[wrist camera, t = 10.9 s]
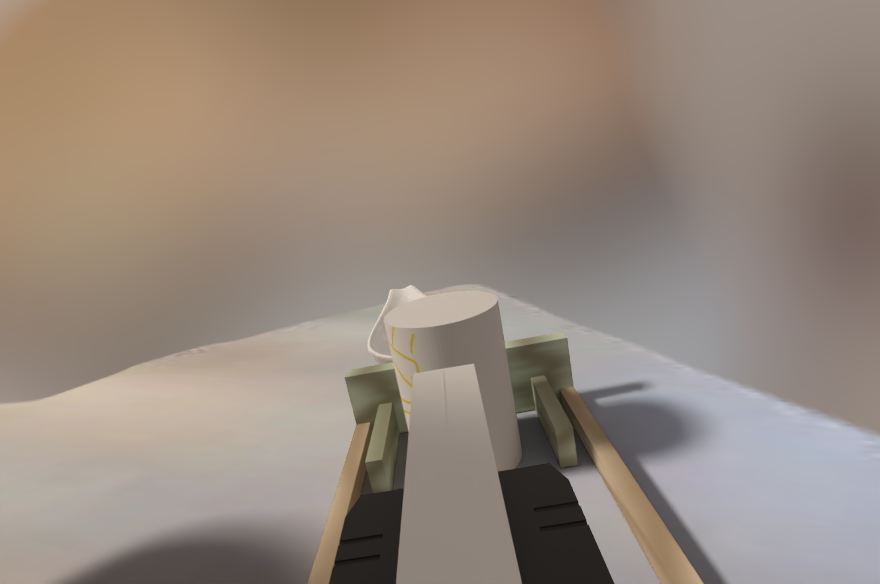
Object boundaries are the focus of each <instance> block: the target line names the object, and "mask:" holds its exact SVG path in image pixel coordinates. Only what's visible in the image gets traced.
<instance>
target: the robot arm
mask: <svg viewBox="0 0 880 584" xmlns="http://www.w3.org/2000/svg"><path fill="white" fill-rule="evenodd" d="M339 541H340V545H339V546H338V548H337V553H336V557H335V561H334V562H335V566H334V567H333V569H332V573H331V577H330V581H329V584H614V582H613V580H612V577H611V575H610V573H609V570H608V568H607V566H606V564H605V561H604V559H603V557H602V555H601V552H600V550H599V548H598V545H597V543H596V541H595V539H594V536H593V534H592V532H591V530H590V527H589V525H587V522H586V518H585V516H584V514H583V511H582V509H581V507H580V506H579V504H578V500H577V498H576V496H575V493H574V491H573V489H572V486H571V484H570V482H569V480H568V479H567V478H566V477H565V476H564V475H563V474H561V473H560V472H559V471H558V470H557V469H555V468H554V467H553V466H552V465H551V464H549V463H548V464H542V465H536V466H529V467H523V468H517V469H511V470H504V471H498V472H497V467H496V463H495V458H494V453H493V449H492V444H491V440H490V435H489V431H488V426H487V421H486V417H485V412H484V408H483V403H482V398H481V394H480V389H479V385H478V380H477V376H476V371H475V366H474V364H468V365H462V366H456V367H450V368H444V369H438V370H432V371H426V372H420V373H414V376H413V387H412V399H411V411H410V423H409V435H408V447H407V459H406V470H405V482H404V489H397V490H391V491H385V492H378V493H372V494H366V495H361V496H360V497H359V499H358V500H357V502H356V503H355V504H354V506H353V507H352V508H351V510H350V511H349V512H348V514H347V515H346V517H345V520H344V524H343V528H342V532H341V536H340V540H339Z"/></svg>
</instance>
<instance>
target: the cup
mask: <svg viewBox="0 0 880 584" xmlns="http://www.w3.org/2000/svg"><path fill="white" fill-rule="evenodd" d="M384 324H385V328H386V333H387V337H388V342H389V346H390V351H391V355H392V360H393V364H394V369H395V373H396V378H397V382H398V387H399V391H400V396H401V400H402V404H403V409H404V413H405V418H406V422H407V427H408V431H409V423H410V411H411V399H412V387H413V376H414V373H420V372H426V371H432V370H438V369H444V368H450V367H456V366H462V365H468V364H474V366H475V371H476V376H477V380H478V385H479V389H480V394H481V398H482V403H483V408H484V412H485V417H486V421H487V426H488V431H489V435H490V440H491V444H492V449H493V453H494V458H495V463H496V467H497V472H498V471H504V470H511V469H516V467H517V466H518V464H519V463H520V461H521V458H522V447H521V441H520V434H519V428H518V422H517V416H516V410H515V404H514V397H513V391H512V385H511V379H510V373H509V366H508V360H507V354H506V348H505V342H504V335H503V329H502V323H501V317H500V311H499V305H498V298H497V296H496V295H494V294H492V293H489V292H485V291H455V292H447V293H441V294H436V295H431V296H427V297H423V298H419V299H416V300H413V301H410V302H407V303H405V304H402V305H400V306H398V307H396V308H394V309H392V310H391V311H390V312H388V313H387V314H386V315H385V317H384Z"/></svg>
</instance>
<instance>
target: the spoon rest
mask: <svg viewBox="0 0 880 584" xmlns="http://www.w3.org/2000/svg"><path fill="white" fill-rule="evenodd" d="M423 297H427V296H426V295H425V294H424V293H422V292H421V291H419V290H418V289H417V288H416V287H414V286H413V285H410V286H408V287H406V288H403V289H391V290H390V292H389V297H388V300H387V302H386V304H385V307H384V309H383V311H382V313H381V314H380V316H379V318H378V320H377V322H376V324H375V326H374V327H373V330H372V332H371V334H370V337H369V339H368V343H367V346H368V351H369V352H370V354H371V355H372V356H373V358H374V359H375V360H377V361H378V362H379V363H381V364H386V363H392V362H393V360H392V355H391V351H390V346H389V342H388V337H387V333H386V328H385V324H384V317H385V315H386V314H387V313H388V312H390V311H391V310H392V309H394V308H396V307H398V306H400V305H402V304H405V303H407V302H410V301H413V300H416V299H419V298H423Z"/></svg>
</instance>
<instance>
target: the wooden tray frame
mask: <svg viewBox="0 0 880 584" xmlns="http://www.w3.org/2000/svg"><path fill="white" fill-rule="evenodd" d="M505 348H506V354H507V360H508V366H509V373H510V379H511V385H512V391H513V397H514V404H515V410H516V413H518V412H523V411H529V410H536V412H537V414H538V417H539V419H540V421H541V424H542V426H543V428H544V430H545V433H546V435H547V437H548V440H549V442H550V444H551V447H552V449H553V451H554V453H555V456H556V458H557V460H558V463H559V465H560V467H561V468H563V467H569V466H575V465H578V461H577V454H576V446H575V438H574V431H573V426H574V428H575V430H576V431H577V433H578V435H579V437H580V439H581V440H582V442H583V444H584V446H585V448H586V449H587V451H588V453H589V455H590V456H591V458H592V460H593V462H594V464H595V465H596V467H597V469H598V471H599V473H600V474H601V476H602V478H603V480H604V482H605V483H606V485H607V487H608V489H609V491H610V492H611V494H612V496H613V498H614V500H615V501H616V503H617V505H618V507H619V508H620V510H621V512H622V514H623V516H624V517H625V519H626V521H627V523H628V525H629V526H630V528H631V530H632V532H633V534H634V535H635V537H636V539H637V541H638V543H639V544H640V546H641V548H642V550H643V552H644V553H645V555H646V557H647V559H648V560H649V562H650V564H651V566H652V568H653V569H654V571H655V573H656V575H657V577H658V578H659V580H660V582H661V584H704V583H703V582H702V580H701V579H700V577H699V576H698V574H697V573H696V571H695V570H694V568H693V567H692V565H691V564H690V562H689V561H688V559H687V558H686V556H685V555H684V553H683V552H682V550H681V549H680V547H679V546H678V544H677V543H676V541H675V540H674V538H673V537H672V535H671V533H670V532H669V530H668V529H667V527H666V526H665V524H664V523H663V521H662V520H661V518H660V517H659V515H658V514H657V512H656V511H655V509H654V508H653V506H652V505H651V503H650V502H649V500H648V499H647V497H646V496H645V494H644V493H643V491H642V490H641V488H640V487H639V485H638V484H637V482H636V481H635V479H634V478H633V476H632V474H631V473H630V471H629V470H628V468H627V467H626V465H625V464H624V462H623V461H622V459H621V458H620V456H619V455H618V453H617V452H616V450H615V449H614V447H613V446H612V444H611V443H610V441H609V440H608V438H607V437H606V435H605V434H604V432H603V431H602V429H601V428H600V426H599V425H598V423H597V422H596V420H595V419H594V417H593V416H592V414H591V412H590V411H589V409H588V408H587V406H586V405H585V403H584V402H583V400H582V399H581V397H580V396H579V394H578V393H577V391H576V390H575V388H574V387H573V379H572V372H571V364H570V356H569V348H568V340H567V337H566V336H565V334H564V333H563V332H560V333H554V334H549V335H543V336H537V337H532V338H526V339H521V340H515V341H509V342H505ZM345 380H346V384H347V388H348V392H349V396H350V400H351V404H352V408H353V412H354V416H355V420H356V424H357V425H356V428H355V432H354V435H353V438H352V441H351V444H350V448H349V451H348V454H347V457H346V461H345V464H344V467H343V470H342V474H341V477H340V480H339V483H338V486H337V490H336V493H335V496H334V499H333V503H332V506H331V509H330V512H329V516H328V519H327V522H326V525H325V528H324V532H323V535H322V538H321V541H320V545H319V548H318V551H317V554H316V558H315V561H314V564H313V567H312V570H311V574H310V577H309V580H308V583H307V584H329V581H330V577H331V573H332V569H333V567H334V566H335V562H334V561H335V557H336V553H337V548H338V546H339V545H340V541H339V540H340V536H341V532H342V528H343V524H344V520H345V517H346V515H347V514H348V512H349V511H350V510H351V508H352V507H353V506H354V504H355V503H356V502H357V500H358V499H359V497H360V496H361V492H362V487H363V483H364V478H365V474H366V470H367V472H368V476H369V480H370V484H371V488H372V492H373V493H378V492H385V491H391V490H392V487H393V479H394V471H395V464H396V456H397V449H398V441H399V434H400V433H403V432H409V431H408V427H407V422H406V418H405V413H404V409H403V404H402V400H401V396H400V391H399V387H398V382H397V378H396V373H395V369H394V364H393V362H392V363H386V364H381V365H375V366H370V367H364V368H358V369H353V370H348V371H347V373H346V376H345ZM561 405H562V406H563V408H564V410H565V411H564V410H563V408H562V406H561ZM565 412H566V413H567V415H568V417H569V419H570V420H569V419H568V417H567V415H566V413H565ZM570 421H571V422H572V424H573V426H572V424H571V422H570Z"/></svg>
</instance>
